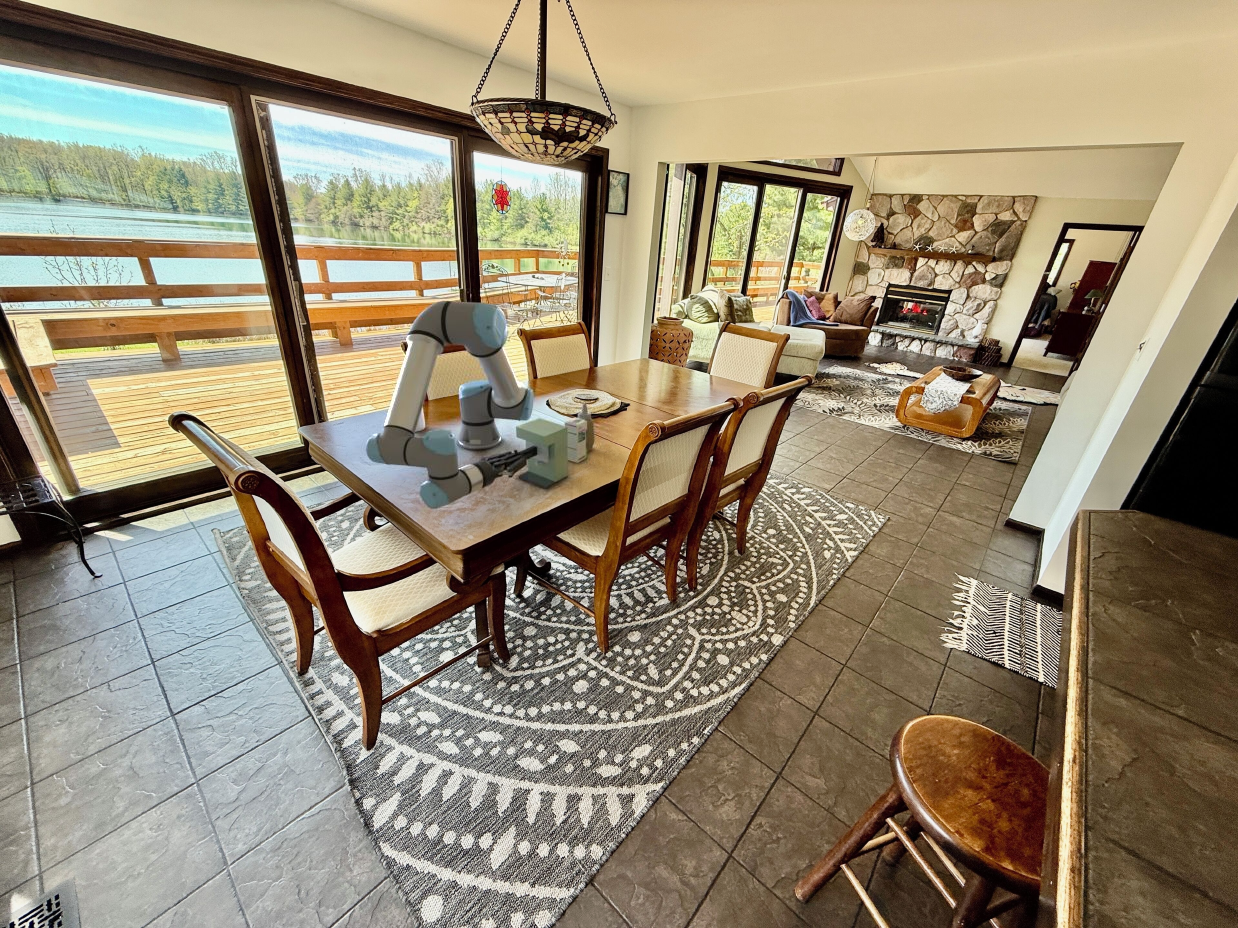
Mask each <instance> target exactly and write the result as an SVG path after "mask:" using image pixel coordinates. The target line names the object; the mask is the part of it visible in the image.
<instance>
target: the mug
mask: <svg viewBox="0 0 1238 928" xmlns="http://www.w3.org/2000/svg"><path fill="white" fill-rule="evenodd" d="M425 428H426V420H425V413H424V407H422V410H421V414H420V417H419V421H418V424H417V428H416V431H415V433H416V432H420V431H423V430H424V429H425Z"/></svg>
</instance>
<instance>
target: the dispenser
mask: <svg viewBox="0 0 1238 928" xmlns="http://www.w3.org/2000/svg"><path fill="white" fill-rule="evenodd" d="M515 435H516V438H518V439H521V440H523V441H525V442H526V441H529V442H532V443H534V444H537V445H540V446H543V447H546V446H548V458H549V462H547V463H546V462H544V461H541V460H538V459H536V458H533V457H532V458H530V459H528V460H527V471H525V472H523V473H521V474H519V475H518V479H519V480H521V481H524V482H526V483H529V484H531V485H534V486H536V487H538V488H541V489H543V490H548V489H550V488H552V487H553V486H555V485H557V484H559V483H561V482H563V481H564V480H567V479H568V478H569V475H568V473H569V472H568V470H569V469H568V467H569V466H568V462H569V460H568V427H566V426H565V425H564V424H563V425H562V424H559V423H556V422H553V421H550V420H547V419H544V418H540V417H539V418H536V419H533V420H530V421H528V422H525V423H523V424H520V425H517V426H515Z"/></svg>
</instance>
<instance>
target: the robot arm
mask: <svg viewBox="0 0 1238 928" xmlns="http://www.w3.org/2000/svg"><path fill="white" fill-rule="evenodd" d="M507 321H508V320H507V318H506V314H505V313H504V311H503V310H502V308H501V307H499V306H498V305H496V304H493V303H487V302H470V301H451V300H441V301H437V302H434V303H432V304H430V305H429V306H428V307H426V308H425V309H424V310H423V311H421V313H419V315H418V316H417V317H416V318H415V319H414V321H413V323H412V324H411V326H410V328H409V330H408V333H407V336H406V343H407V345H408V346H407V350H406V354H405V357H404V360H403V364H402V366H401V370H400V373H399V376H398V379H397V382H396V386H395V391H394V392H393V396H392V399H391V403H390V406H389V409H388V412H387V415H386V418H385V422H384V425H383V428H382V430H381V432H379V433H373V434H371V435H370V437H369V438H368V439H367V441H366V445H365V452H366V456H367V458H368V459H369V460H370V461H371V462H372V463H376V464H383V465H388V466H390V465H392V466H406V467H413V468H414V467H415V468H423V469H424V468H425V469H426V470H427V476H428V477H427V478H428V480H426V481H424V482H423V483H422V484H421V485H420V488H419V495H420V498H421V500H422V502H423V504H424V505H425V506H426V507H428V508H430V509H431V510H437V509H440V508H442V507H445V506H448V505H451V504H452V503H455V502H456V501H458V500H460V499H462V498H464V497H466V496H468V495H471V494H473V493H474V492H477V491H479V490H481V489H484V488H486V487H488V486H491V485H492V484H493V483H494V482H495V481H496V479H497V478H501V477H503V476H507V477H508V478H509V479H512V478H513V477H514V475H515V474H517V473H518V472H519V471H521V470H522V469H523V468H525V467H526V466H528V459H530V458H532V457H534V456H536V455H537V447H536V446H532V447H530V448H527V449H526V448H525V449H523V450H520V451H518V449H514V450H513V452H512V450H509V451H505V452H501V453H497V454H493V455H490V456H482V457H480V458H479V460H476V461H474V462H471V463H469V464H466V465H464V466H461V467H460V466H459V457H458V446H460V447H461V448H462V449H466V450H470V451H482V450H490V449H492V448H495V447H497V446H499V445H500V444H501V442H502V437H501V433H500V431H499V429H498V427H497V424H496V422H495V419H497V420H498V419H499V420H509V421H519V422H522V421H523V422H524V421H526V422H527V421H529V420H530V418H531V417H532V414H533V409H534V403H535V402H534V401H535V400H534V399H535V393H534V390H533V389H532V388H530V387H527V388H525V385H524V384H523V382H521V381H520V380H519V379H517V377H516V375H515V372H514V369H513V367H512V365H511V362H510V360H509V358H508V356H507V353H506V351H505V348H504V346H505V345H506V344H507V340H508V336H509V328H508V326H507V324H508V322H507ZM447 345H457V346H464V348H465V350H466V351H467V354H469V355H470V356H472V357H474V358H476V360H477V362H478V363H479V365H480V367H481V369H482V372H483V373H484V375H485V377H486V379H476V380H471V381H467V382H465V383H463V384H461V385H460V386H459V389H458V399H459V409H460V418H461V426H460V430H459V434H458V446H457V442H456V436H455V434H454V432H453V431H450V430H448V429H443V428H442V429H432V430H429V431H427V432H425V433H424V434H423V436H422V437H419V436H415V434H416V432H415V431H416V428H417V424H418V421H419V417H420V414H421V410H422V407H423V406H424V403H425V400H426V397H427V394H428V389H429V386H430V382H431V379H432V375H433V372H434V369H435V365H436V362H437V358H438V356H439V355H441V354H442V353H443V352H444V348H445V346H447ZM423 408H424V407H423Z"/></svg>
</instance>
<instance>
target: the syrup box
mask: <svg viewBox="0 0 1238 928" xmlns="http://www.w3.org/2000/svg"><path fill="white" fill-rule="evenodd" d="M564 426H566V427H568V461H570V462H573V463H576V464H579V463H580V462H581V461H583V460H585V459H587V458H588V452H587V420H584V419H581V418H578V417H575V416H574V417H573V418H571V419H568V420H566V421H564Z"/></svg>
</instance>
